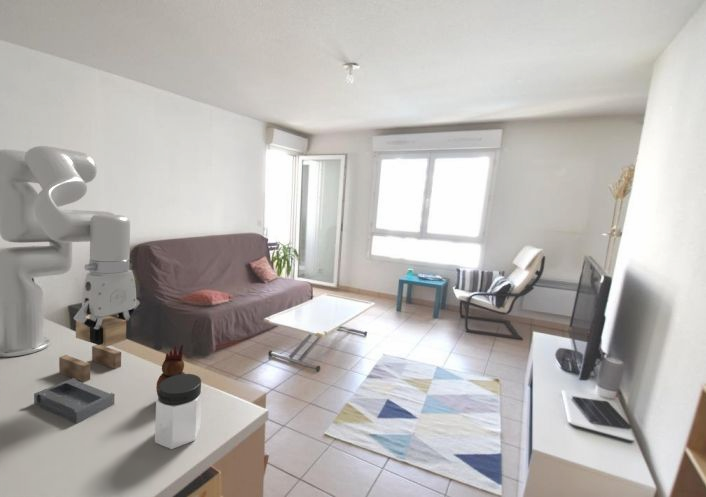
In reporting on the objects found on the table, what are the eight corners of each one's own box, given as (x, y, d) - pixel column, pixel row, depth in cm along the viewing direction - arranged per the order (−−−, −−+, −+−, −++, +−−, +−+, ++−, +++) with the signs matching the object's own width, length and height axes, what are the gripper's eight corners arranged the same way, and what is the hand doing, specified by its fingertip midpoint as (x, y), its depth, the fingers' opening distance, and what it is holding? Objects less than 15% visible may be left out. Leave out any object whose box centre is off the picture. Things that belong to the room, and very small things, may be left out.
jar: (145, 440, 67) (147, 387, 66) (177, 418, 75) (179, 369, 73) (179, 454, 64) (181, 398, 63) (208, 429, 72) (211, 379, 71)
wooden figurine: (191, 396, 83) (193, 341, 81) (177, 410, 77) (179, 351, 76) (167, 392, 84) (168, 338, 82) (151, 405, 78) (152, 347, 76)
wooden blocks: (59, 372, 88) (59, 357, 87) (97, 358, 97) (97, 344, 97) (83, 382, 85) (83, 366, 84) (120, 366, 94) (121, 352, 93)
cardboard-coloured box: (75, 337, 78) (75, 318, 77) (97, 331, 83) (97, 312, 82) (105, 347, 75) (105, 326, 75) (125, 339, 80) (126, 320, 79)
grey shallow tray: (34, 404, 75) (34, 393, 74) (73, 387, 82) (73, 377, 82) (76, 423, 70) (76, 412, 69) (114, 404, 77) (114, 394, 77)
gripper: (81, 274, 67) (81, 356, 69) (154, 264, 83) (152, 330, 85) (57, 269, 69) (57, 348, 71) (132, 260, 85) (131, 325, 87)
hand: (109, 338), depth 78 cm, fingers closed on cardboard-coloured box, 5 cm apart
